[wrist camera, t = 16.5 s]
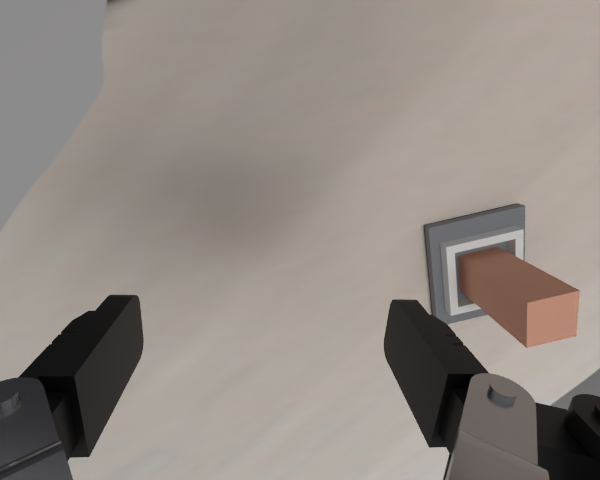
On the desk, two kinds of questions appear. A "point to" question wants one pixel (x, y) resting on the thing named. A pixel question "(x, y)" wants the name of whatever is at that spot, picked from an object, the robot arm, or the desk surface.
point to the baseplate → (461, 240)
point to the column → (519, 296)
